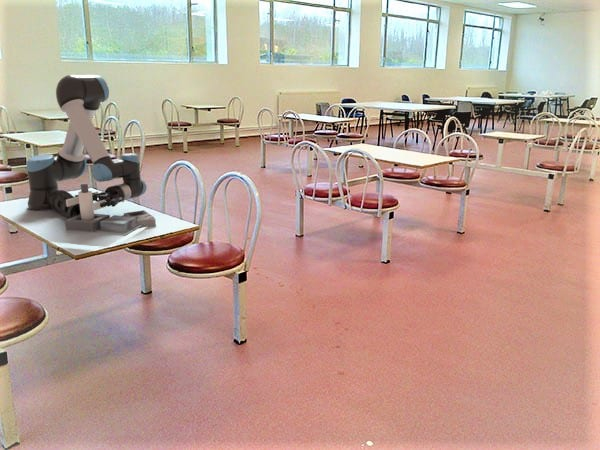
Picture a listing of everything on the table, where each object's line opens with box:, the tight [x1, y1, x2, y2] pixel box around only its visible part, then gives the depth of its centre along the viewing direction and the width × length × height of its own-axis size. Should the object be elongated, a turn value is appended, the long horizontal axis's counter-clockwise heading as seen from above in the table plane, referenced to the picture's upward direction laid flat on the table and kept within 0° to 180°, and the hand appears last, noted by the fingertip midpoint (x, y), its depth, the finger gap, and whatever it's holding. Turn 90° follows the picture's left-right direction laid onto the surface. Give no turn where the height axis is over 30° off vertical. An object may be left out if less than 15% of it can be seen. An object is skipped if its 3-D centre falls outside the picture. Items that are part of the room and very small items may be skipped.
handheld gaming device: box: [123, 209, 157, 229], centre depth 219 cm, size 9×15×4 cm, turn 36°
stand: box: [100, 214, 138, 237], centre depth 206 cm, size 10×10×5 cm
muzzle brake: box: [49, 189, 80, 219], centre depth 225 cm, size 10×28×10 cm
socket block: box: [64, 213, 111, 233], centre depth 208 cm, size 12×12×5 cm
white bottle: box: [77, 183, 95, 221], centre depth 206 cm, size 5×5×17 cm
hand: (79, 205), depth 203 cm, fingers open, 12 cm apart
